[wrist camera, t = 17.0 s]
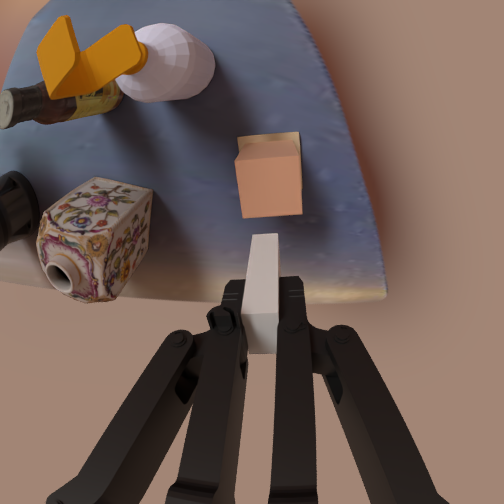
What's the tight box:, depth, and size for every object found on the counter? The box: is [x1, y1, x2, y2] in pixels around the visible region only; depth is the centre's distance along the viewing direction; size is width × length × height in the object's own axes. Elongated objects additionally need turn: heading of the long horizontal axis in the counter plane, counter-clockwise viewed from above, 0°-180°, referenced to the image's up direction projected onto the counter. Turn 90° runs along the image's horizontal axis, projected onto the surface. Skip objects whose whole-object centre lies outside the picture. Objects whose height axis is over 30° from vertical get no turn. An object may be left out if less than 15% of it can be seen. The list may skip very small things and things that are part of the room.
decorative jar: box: [36, 177, 153, 303], centre depth 34 cm, size 12×12×18 cm
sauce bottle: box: [0, 79, 124, 129], centre depth 22 cm, size 6×6×20 cm
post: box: [237, 132, 303, 189], centre depth 32 cm, size 8×8×7 cm
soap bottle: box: [37, 15, 215, 103], centre depth 19 cm, size 9×9×25 cm
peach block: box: [235, 140, 302, 218], centre depth 31 cm, size 6×6×10 cm
